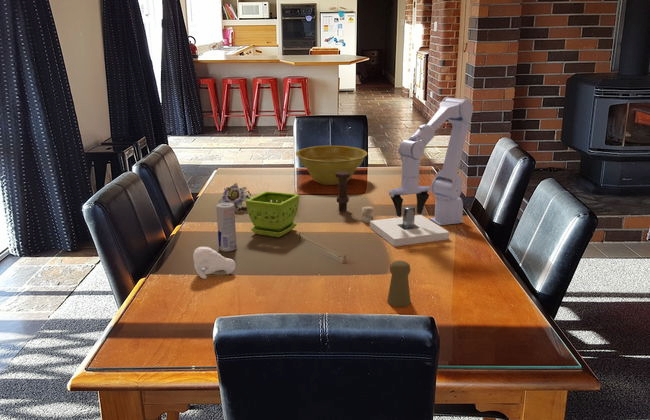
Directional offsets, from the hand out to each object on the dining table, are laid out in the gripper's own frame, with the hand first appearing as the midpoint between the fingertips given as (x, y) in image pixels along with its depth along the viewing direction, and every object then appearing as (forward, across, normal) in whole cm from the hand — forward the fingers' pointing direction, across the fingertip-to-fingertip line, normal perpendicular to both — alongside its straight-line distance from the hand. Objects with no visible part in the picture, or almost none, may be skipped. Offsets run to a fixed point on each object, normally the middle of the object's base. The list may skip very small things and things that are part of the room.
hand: (409, 214), depth 204 cm
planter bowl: (+7, +1, -76) cm, 76 cm away
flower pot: (+7, +43, -17) cm, 47 cm away
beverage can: (+6, +61, -6) cm, 62 cm away
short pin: (+7, +8, -17) cm, 20 cm away
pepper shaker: (+7, +26, +47) cm, 54 cm away
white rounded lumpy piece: (+7, +68, +13) cm, 70 cm away
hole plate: (+7, 0, 0) cm, 7 cm away
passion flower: (+7, +50, -50) cm, 71 cm away
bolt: (+7, +12, -32) cm, 35 cm away
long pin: (+7, 0, 0) cm, 7 cm away
